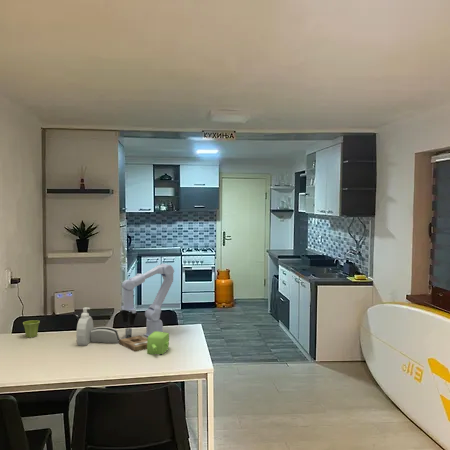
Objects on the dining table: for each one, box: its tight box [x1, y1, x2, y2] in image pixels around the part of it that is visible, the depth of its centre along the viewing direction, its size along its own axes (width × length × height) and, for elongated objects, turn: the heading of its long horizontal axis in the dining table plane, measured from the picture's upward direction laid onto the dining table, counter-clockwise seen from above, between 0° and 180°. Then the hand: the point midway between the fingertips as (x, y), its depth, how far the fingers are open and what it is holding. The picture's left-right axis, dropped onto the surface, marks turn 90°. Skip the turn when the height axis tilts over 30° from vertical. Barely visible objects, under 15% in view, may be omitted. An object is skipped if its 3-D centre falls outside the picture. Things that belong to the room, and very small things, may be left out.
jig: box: [118, 335, 148, 352], centre depth 245 cm, size 13×18×3 cm
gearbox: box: [146, 331, 170, 355], centre depth 233 cm, size 18×10×10 cm, turn 168°
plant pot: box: [22, 320, 41, 338], centre depth 262 cm, size 9×9×9 cm
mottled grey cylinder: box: [124, 327, 133, 339], centre depth 257 cm, size 4×4×6 cm
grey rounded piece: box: [90, 326, 121, 344], centre depth 251 cm, size 17×5×10 cm, turn 82°
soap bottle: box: [75, 307, 95, 346], centre depth 250 cm, size 16×5×20 cm, turn 0°
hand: (128, 323), depth 257 cm, fingers open, 7 cm apart
